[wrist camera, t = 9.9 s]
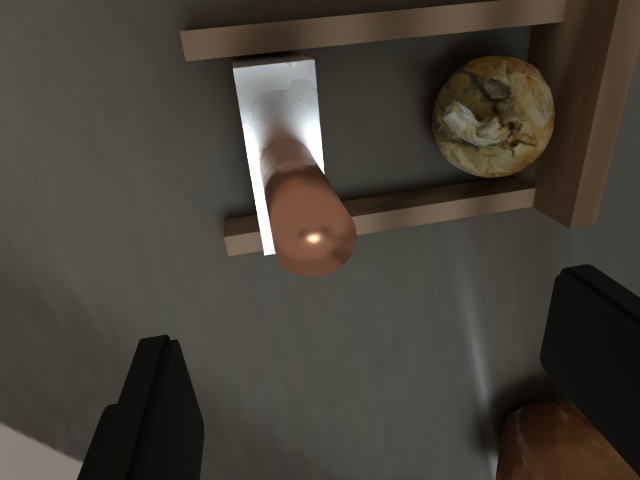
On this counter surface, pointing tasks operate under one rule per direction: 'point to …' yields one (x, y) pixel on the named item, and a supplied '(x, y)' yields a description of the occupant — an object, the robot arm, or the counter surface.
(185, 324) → the counter surface
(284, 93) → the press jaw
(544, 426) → the butternut squash
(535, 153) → the onion
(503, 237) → the counter surface
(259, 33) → the press frame
